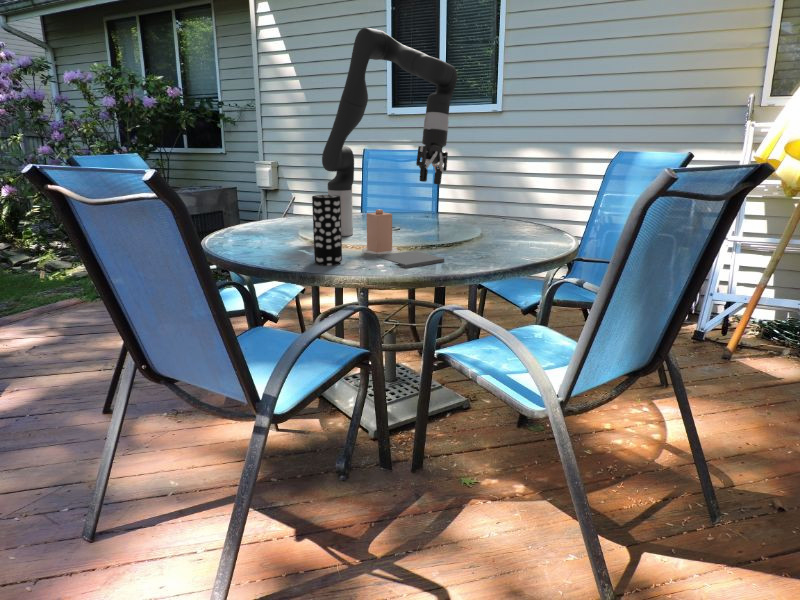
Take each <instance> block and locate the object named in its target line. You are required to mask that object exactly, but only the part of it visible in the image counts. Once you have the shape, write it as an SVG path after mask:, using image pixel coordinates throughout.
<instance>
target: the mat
mask: <svg viewBox="0 0 800 600" xmlns="http://www.w3.org/2000/svg"><path fill="white" fill-rule="evenodd" d="M376 257H377V258H380V259H383V260H386V261H390V262H393V263H394V265H395V266H398V267H401V268H404V269H408V268H413V267H420V266H426V265H432V264H439V263H445V258H443V257H440V256H436V255H432V254H429V253H426V252H423V251H418V250H410V251H402V252H394V253H387V254H379V255H377V256H376Z"/></svg>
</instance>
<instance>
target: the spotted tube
mask: <svg viewBox="0 0 800 600" xmlns="http://www.w3.org/2000/svg"><path fill="white" fill-rule="evenodd" d="M311 202H312V204H311V205H312V207H311V208H312V225H313V226H312V228H313V229H312V230H313V251H314V252H313V253H314V256H313V257H314V264H315V265H318V266H325V267H327V266H337V265H340V264H342V261H343V249H342V248H343V247H342V243H343V242H342V236H341V201H340V196H338V195H328V194H316V195H312V196H311Z"/></svg>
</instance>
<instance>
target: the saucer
mask: <svg viewBox="0 0 800 600" xmlns="http://www.w3.org/2000/svg"><path fill="white" fill-rule="evenodd" d="M398 251H399V249H398V248H396V247H392V251H385V252H378V253H377V252H374V251H370V250H367V247H364V248H362V249H361V252H362V253H364V254H365V253H366V254H373V255H377V254H378V255H387V254H394V253H397V252H398Z"/></svg>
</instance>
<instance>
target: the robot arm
mask: <svg viewBox="0 0 800 600" xmlns="http://www.w3.org/2000/svg"><path fill="white" fill-rule="evenodd" d="M370 60H374V61H379V60H380V61H381V60H382V61H386V62H392V63H395V64H396V65H397V66H398V67H400V69H402V70H403V71H405V72H407V73H408V74H410V75H413V76H416V78H421V79H423V80H424V81H426V82H428V83H430V84H433V85H435V86H436V90H435V92H433V93H430V94H429V95H428V97H427V99H426V109H425V115H424V116H425V117H424V119H423V120H424V121H423V128H422V129H423V131H422V142H421V143H422V145H418V147H417V154H416V163H415V164H416V166H418V167H419V182H424V183H426V182H427V180H428V173H429V169H428V168H429V167H430V165H432V167H434V171H435V172H434V178H433V184H434V185H441V184H442V176H443V174H442V173H444V172H446V171H447V169H448V168H447V167H448V156H449V155H448V154H449V153H448V151H443V148H444V147H446V146H447V141H448V133H449V131H448V130H449V123H450V122H449V115H450V114H449V113H450V103H451V100H452V98H453V95H454V92H455V89H456V85H457V82H458V74H457V69H456V68H455V66H454V65H452V64H450V63H447V62H446V61H444V60H442V59H439V58H437V57H433V56H430V55H428V54H426V53H424V52H422V51H420V50H417V49H414V48H413V47H409V46H407V45H404V44H402V43H401V42H399V41H397V39H395V38H393V37H392V36H391V35H389V34H388V33H386V32H385V31H383V30H380V29H376V28H370V27H363V28H360V29H359V31H358V32H357V34H356V36H355V38H354V42H353V48H352V52H351V58H350V62H349V68H348V73H347V76H346V81H345V83H344V84H345V85H344V88H343V91H342V94H341V97H340V100H339V104H338V108H337V112H336V115H335V119H334V121H333V125H332V128H331V130H330V133H329V136H328V139H327V141H326V143H325V146H324V148H323V151H322V156H321V164H322V167H323V168H324V170H326V171H327V172H336V174H335V176H334V177H333V178H332V179H331V180H329V181H328V182H327V195H338V196H340V201H341V237H348V236H353V235H354V223H353V220H354V219H353V184H354V180H355V178H354V177H355V156H354V153H353V150H352V148H351V147H349V146H348V145H347V146H346V145H345V142H346V140H347V138H348V137H349V135H350V134H351V133H352V132H353V131H354V130H355V128H357V127H358V125H359V124H360V123H361V122H362V119H363V117H364V115H365V112H366V108H367V106H368V101H369V94H368V93H369V92H368V87H367V82H366V73H367V69H368V65H369V61H370Z"/></svg>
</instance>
